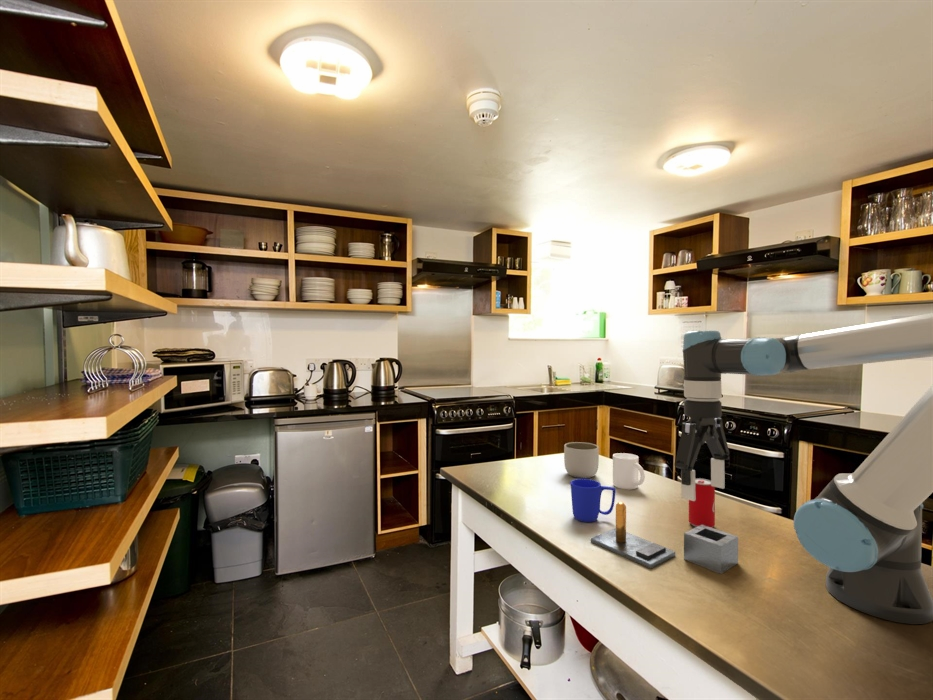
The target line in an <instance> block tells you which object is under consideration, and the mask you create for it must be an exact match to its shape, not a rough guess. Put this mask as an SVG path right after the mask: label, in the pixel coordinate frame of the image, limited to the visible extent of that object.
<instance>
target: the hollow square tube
mask: <svg viewBox="0 0 933 700" xmlns="http://www.w3.org/2000/svg"><path fill="white" fill-rule="evenodd" d="M683 560H684V561H687V562H690V563H692V564H695V565H697V566H700V567H702V568H706V569H707V570H710V571H712V572H715V573H717V574H719V575H722V574H723V573H725V572H726V571H728V570H729V569H731V568H733V567H734V566H735V565H737V564H739V536H738V535H736V534H733V533H729V532H727V531H726V532H725V531H722V530H720V529H716V528H714V527H712V528H711V527H708V526H705V525H700V526H698V527H693V528H692V529H690V530H687V531H686V532H683Z"/></svg>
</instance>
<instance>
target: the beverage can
mask: <svg viewBox="0 0 933 700" xmlns="http://www.w3.org/2000/svg"><path fill="white" fill-rule="evenodd" d="M695 496H696V500H695V501H691V500H688V522H689V524H690V525H692V526H693V527H694V528H696V527H698V526H700V525H705V526H708V527H711V528H714V527H715V525H716V487H713V486H711V479H706V478H703V477H702V478H701V477H699V478H698V477H697V478H696V477H695Z"/></svg>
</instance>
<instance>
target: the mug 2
mask: <svg viewBox="0 0 933 700" xmlns="http://www.w3.org/2000/svg"><path fill="white" fill-rule="evenodd" d="M639 474H640V475H639ZM639 476H640V477H639ZM645 479H646V474H645V470H644V468H643V467H642V466H641V465H640V464H639V456H638V455H636V454H633V453H625V452H623V453H622V452H620V453H618V452H617V453H613V454H612V485H613V486H614V488H618V489H620V490H629V491H631V490H635V489H637V488H638V487H639V486H642V485H643V484H644V482H645Z"/></svg>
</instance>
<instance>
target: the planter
mask: <svg viewBox="0 0 933 700" xmlns="http://www.w3.org/2000/svg"><path fill="white" fill-rule="evenodd" d="M563 452H564V453H563V455H564V456H563V457H564V458H563V459H564V460H563V461H564V463H563V464H564V468H565V470H566V472H567V474H568V475H570V476H571V477H574V478H576V479H589V478H592V477H594V476H595V475H596V474H597V473H598V469H599V463H600V462H599V460H600V458H599V457H600V455H599V454H600V446H599V445H598V444H594V443H591V442H584V441H583V442H580V441H579V442H578V441H575V442H574V441H571V442H567V443H565V444H563Z"/></svg>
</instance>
